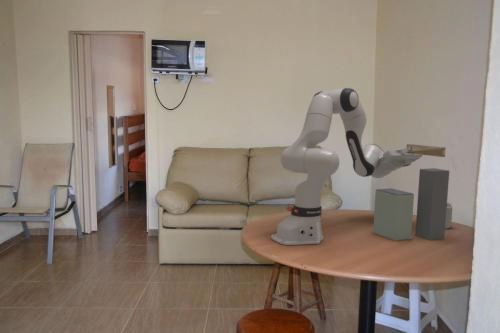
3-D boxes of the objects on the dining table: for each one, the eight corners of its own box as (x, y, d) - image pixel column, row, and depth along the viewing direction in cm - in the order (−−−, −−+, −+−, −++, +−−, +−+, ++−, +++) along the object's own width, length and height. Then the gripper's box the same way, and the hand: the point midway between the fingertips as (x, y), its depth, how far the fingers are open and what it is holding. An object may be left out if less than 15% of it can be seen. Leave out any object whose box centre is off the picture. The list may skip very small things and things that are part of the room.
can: (453, 229, 210) (455, 204, 209) (437, 229, 211) (439, 204, 209) (446, 225, 218) (448, 201, 216) (431, 225, 218) (433, 201, 217)
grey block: (395, 240, 190) (398, 194, 187) (373, 232, 202) (375, 189, 200) (411, 238, 193) (414, 193, 191) (388, 230, 206) (391, 188, 203)
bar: (440, 157, 189) (441, 147, 188) (406, 152, 207) (406, 144, 206) (445, 156, 190) (445, 147, 189) (410, 152, 208) (410, 144, 207)
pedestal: (429, 240, 192) (434, 171, 188) (415, 235, 199) (419, 169, 195) (444, 237, 196) (449, 170, 192) (430, 233, 203) (434, 168, 199)
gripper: (375, 154, 212) (394, 142, 201) (408, 153, 221) (427, 141, 209) (379, 166, 210) (398, 154, 199) (412, 165, 219) (432, 153, 207)
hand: (413, 147), depth 204 cm, fingers closed on bar, 2 cm apart
